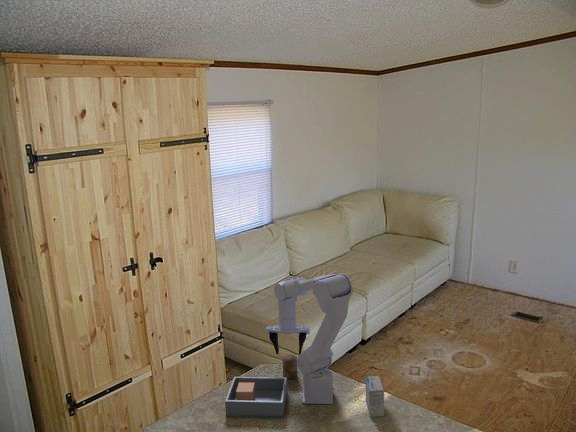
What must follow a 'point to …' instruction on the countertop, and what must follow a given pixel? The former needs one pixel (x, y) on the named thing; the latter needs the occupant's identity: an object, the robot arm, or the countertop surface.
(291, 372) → the walnut cylinder
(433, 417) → the countertop surface
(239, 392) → the terracotta cube
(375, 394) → the medicine box
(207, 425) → the countertop surface
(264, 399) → the slate tote
